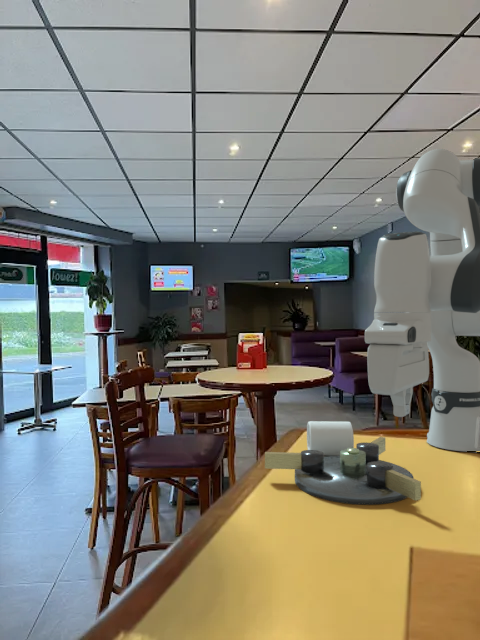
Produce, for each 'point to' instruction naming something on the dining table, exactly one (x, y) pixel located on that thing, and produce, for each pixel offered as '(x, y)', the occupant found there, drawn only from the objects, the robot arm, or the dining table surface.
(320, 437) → the mug
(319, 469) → the knob
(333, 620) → the dining table surface
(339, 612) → the dining table surface
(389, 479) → the knob
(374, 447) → the knob
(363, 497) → the tribrach plate
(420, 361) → the robot arm
